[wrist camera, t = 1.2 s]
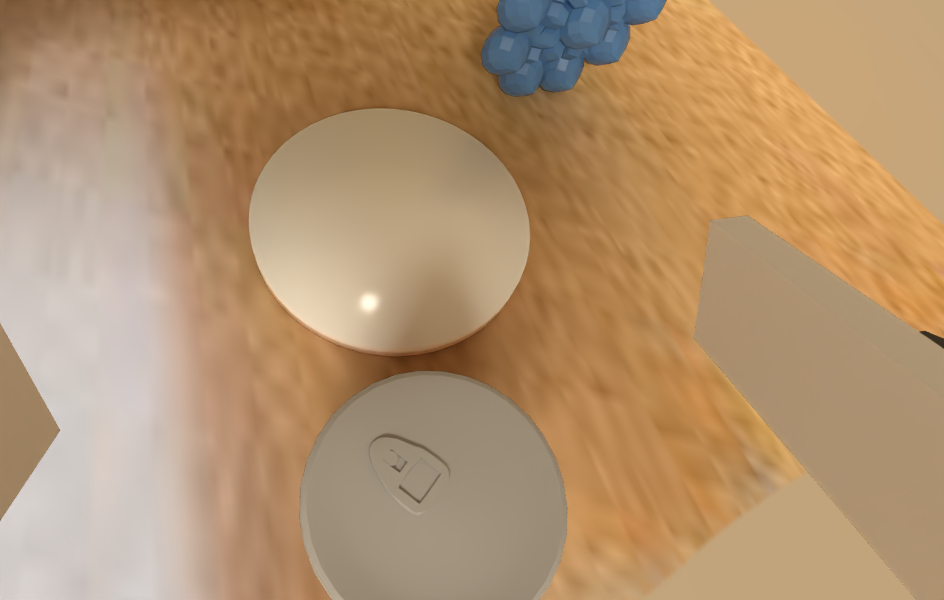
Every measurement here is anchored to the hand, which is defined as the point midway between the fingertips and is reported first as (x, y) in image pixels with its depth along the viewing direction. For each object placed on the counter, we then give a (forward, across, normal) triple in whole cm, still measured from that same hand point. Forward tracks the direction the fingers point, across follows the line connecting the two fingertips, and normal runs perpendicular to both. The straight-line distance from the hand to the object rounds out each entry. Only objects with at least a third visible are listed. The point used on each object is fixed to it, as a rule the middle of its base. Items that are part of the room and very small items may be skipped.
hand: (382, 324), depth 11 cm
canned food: (+9, -1, -16) cm, 18 cm away
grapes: (+31, +11, -2) cm, 33 cm away
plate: (+21, 0, -7) cm, 22 cm away
